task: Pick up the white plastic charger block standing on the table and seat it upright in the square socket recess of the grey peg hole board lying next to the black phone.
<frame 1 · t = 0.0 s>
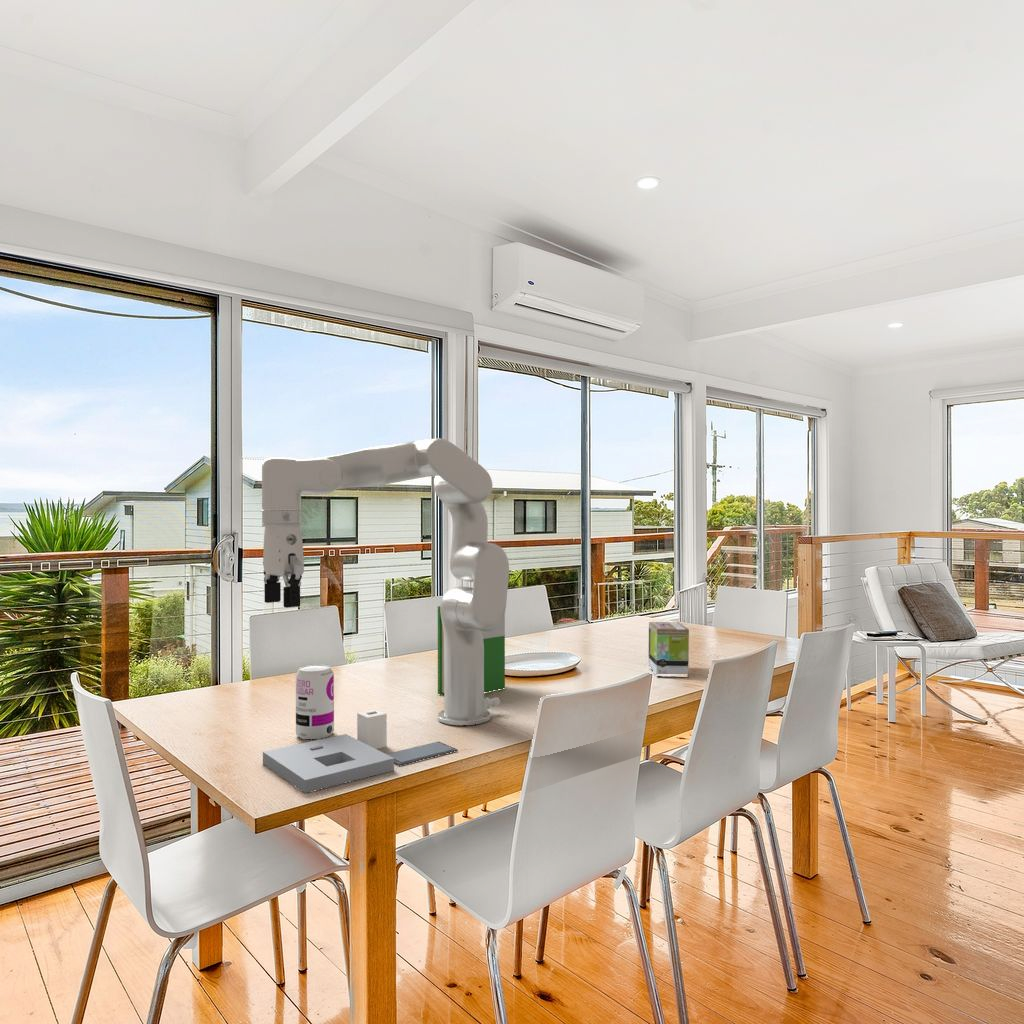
hand: (282, 604, 149), 31 cm above the table, tool pointing down, fingers open, 9 cm apart
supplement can: (315, 736, 165), on the table
hardback book: (471, 692, 203), on the table
charger block: (371, 746, 157), on the table
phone: (419, 757, 152), on the table
tea box: (668, 673, 228), on the table
grey peg hole board: (327, 767, 144), on the table
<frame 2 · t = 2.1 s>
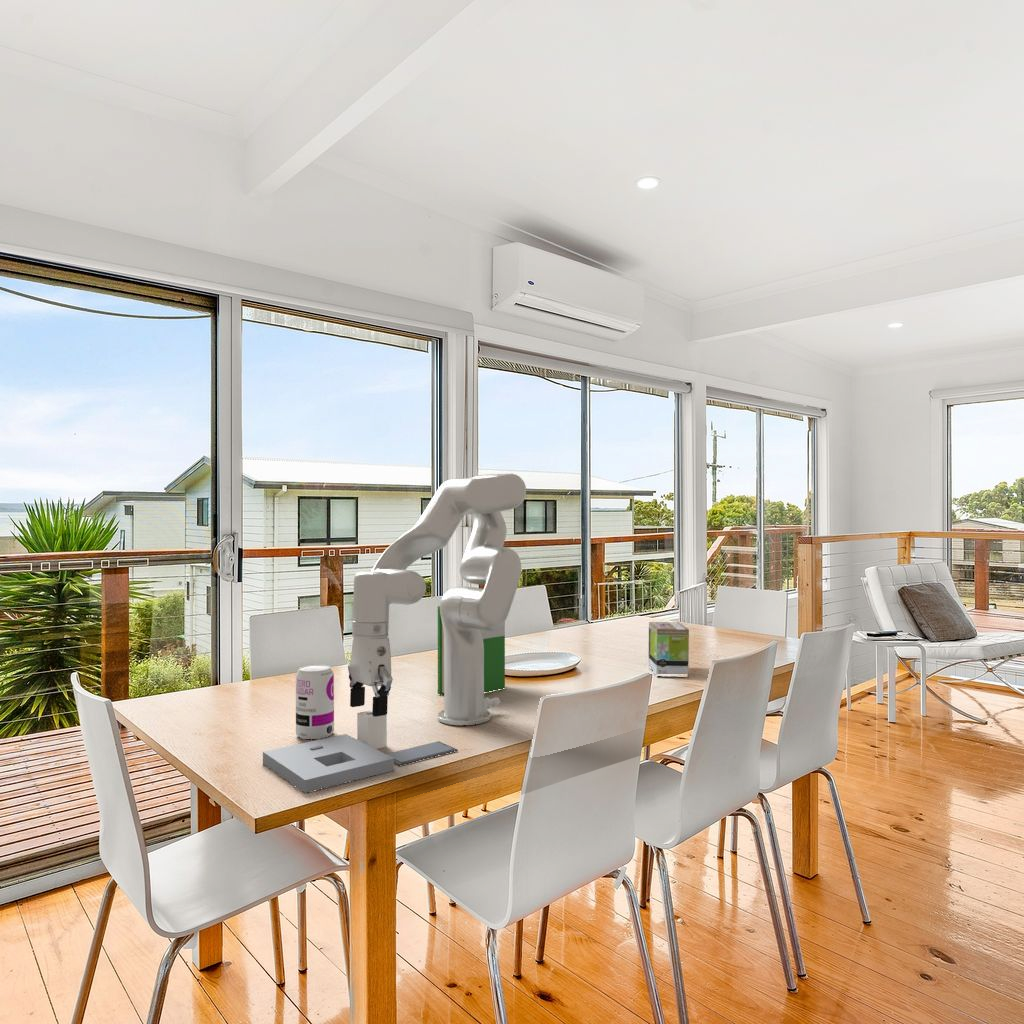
hand: (368, 710, 156), 8 cm above the table, tool pointing down, fingers open, 9 cm apart
nothing on the table moved.
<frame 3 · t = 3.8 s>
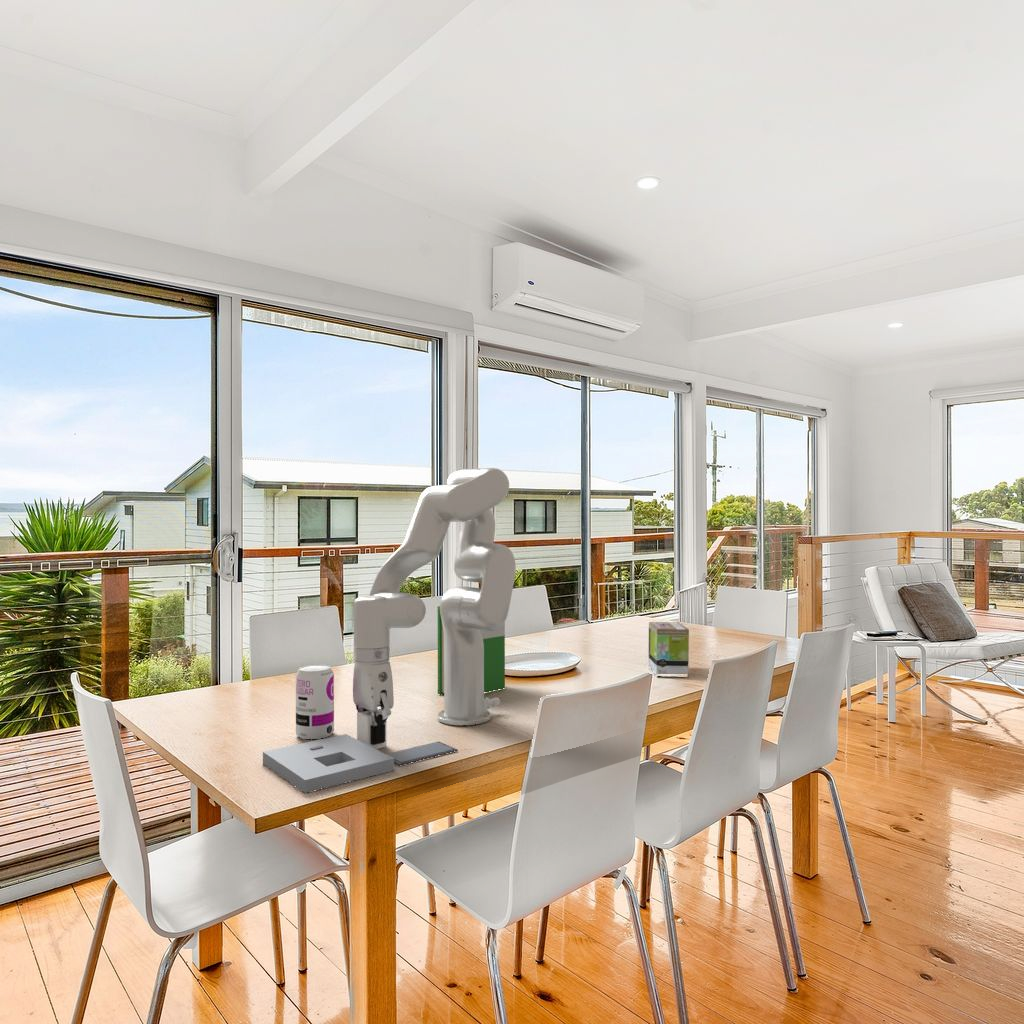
hand: (371, 739, 157), 1 cm above the table, tool pointing down, fingers closed on charger block, 4 cm apart
charger block: (371, 746, 157), on the table, touching gripper
everything else where it was.
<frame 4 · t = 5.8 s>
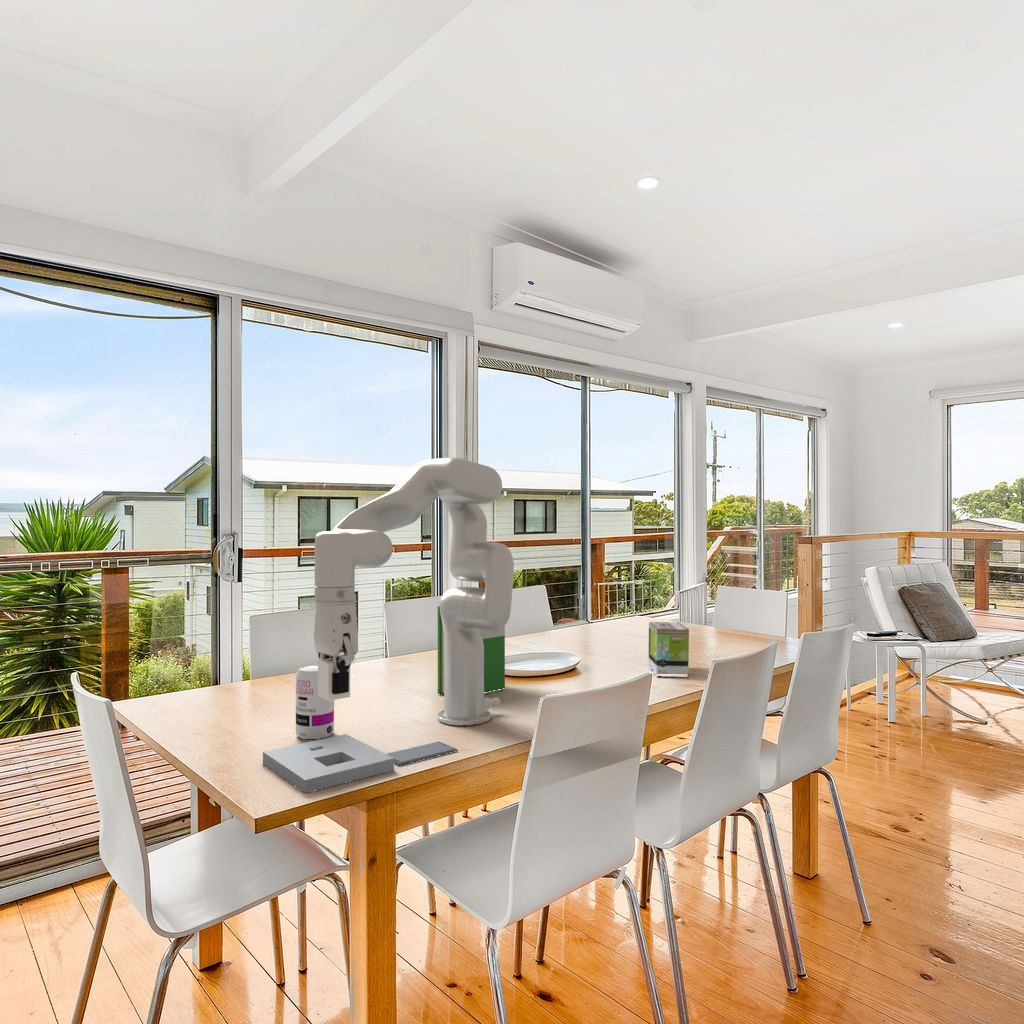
hand: (334, 689, 142), 16 cm above the table, tool pointing down, fingers closed on charger block, 4 cm apart
charger block: (333, 696, 142), point 14 cm above the table, touching gripper
everything else where it was.
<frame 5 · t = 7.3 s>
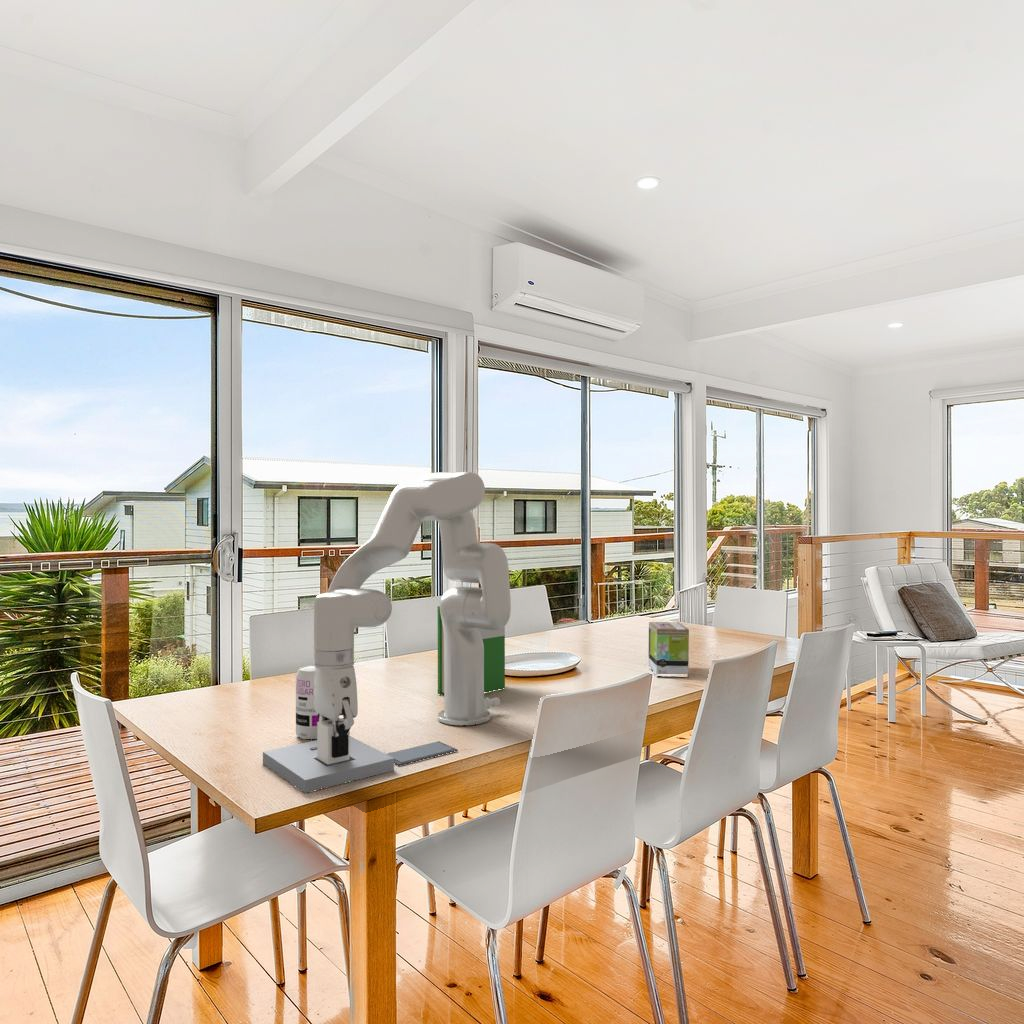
hand: (333, 751, 142), 4 cm above the table, tool pointing down, fingers closed on charger block, 4 cm apart
charger block: (333, 758, 142), point 2 cm above the table, touching gripper
everything else where it was.
when the fingers open (3 cm above the table, at t = 8.2 s): charger block drops 2 cm, resting in grey peg hole board.
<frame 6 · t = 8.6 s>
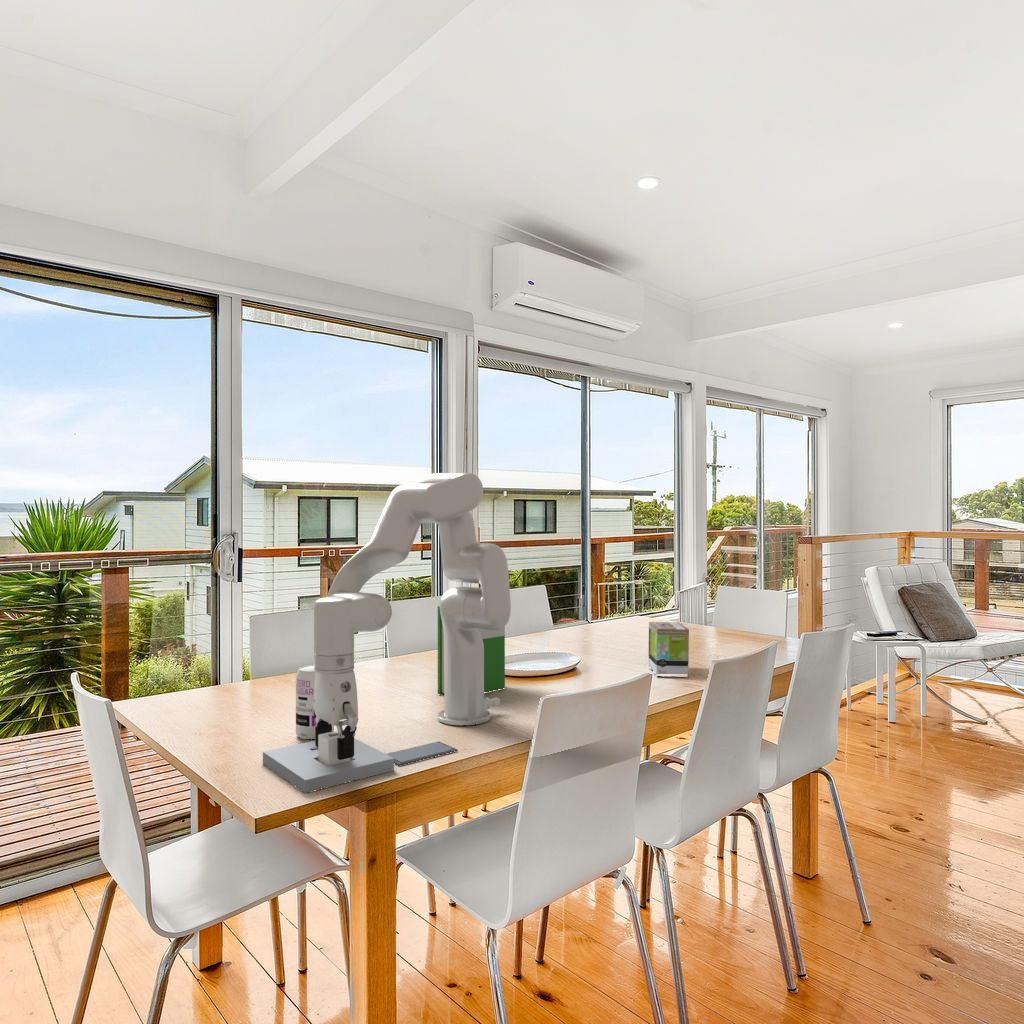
hand: (334, 751, 142), 4 cm above the table, tool pointing down, fingers open, 9 cm apart
charger block: (334, 771, 142), resting in grey peg hole board
everything else where it was.
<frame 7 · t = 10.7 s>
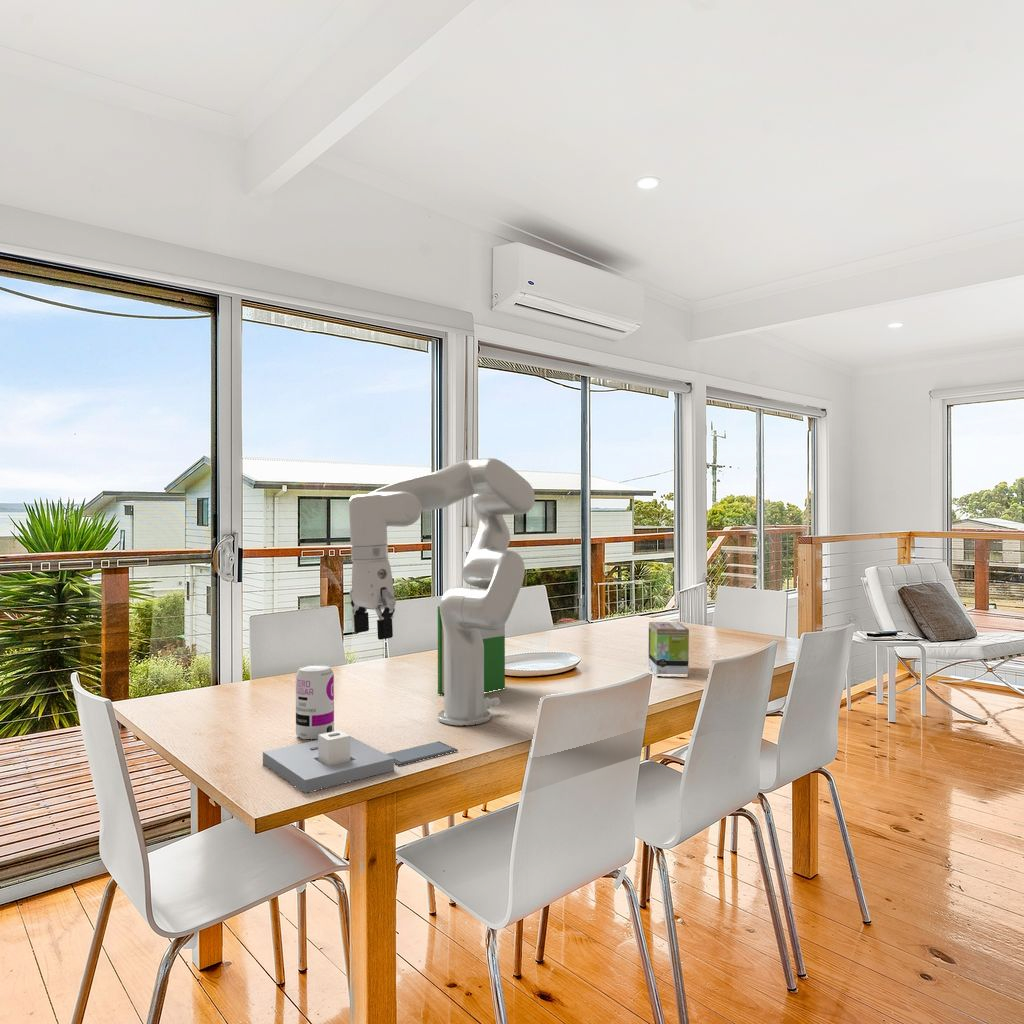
hand: (373, 635, 154), 24 cm above the table, tool pointing down, fingers open, 9 cm apart
nothing on the table moved.
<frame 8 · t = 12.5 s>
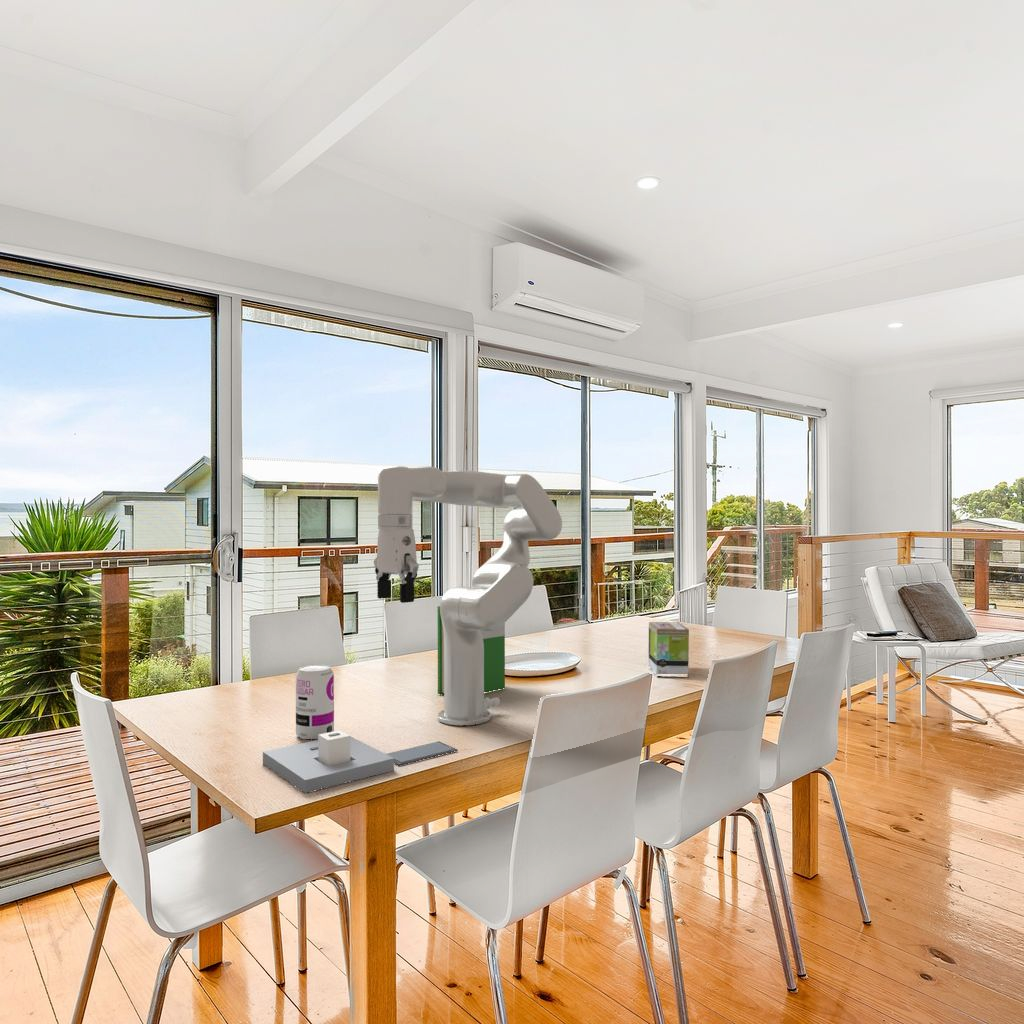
hand: (395, 600, 163), 30 cm above the table, tool pointing down, fingers open, 9 cm apart
nothing on the table moved.
at the end: charger block 0.1 cm from the target spot on the grey peg hole board, point 0.0 cm above the grey peg hole board's base; charger block tilted 0°; the gripper is holding nothing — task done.
